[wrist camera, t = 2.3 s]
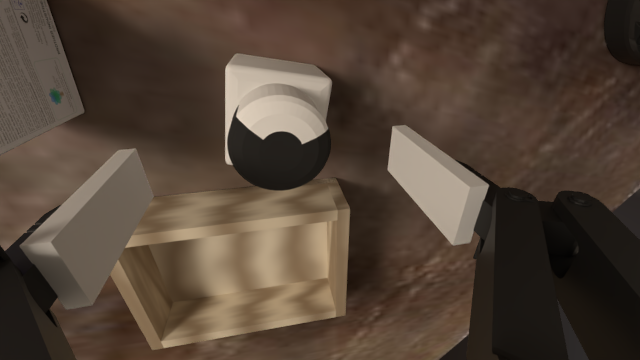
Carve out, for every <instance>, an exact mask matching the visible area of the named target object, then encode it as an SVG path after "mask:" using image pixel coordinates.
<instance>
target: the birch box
mask: <svg viewBox="0 0 640 360" xmlns="http://www.w3.org/2000/svg"><path fill="white" fill-rule="evenodd" d="M349 221H350V207H349V205H348V203H347V201H346V199H345V197H344V195H343V192H342V190H341V188H340V186H339V184H338V182H337V180H336V178H327V179H318V180H311V181H309V182H308V183H306V184H304V185H302V186H300V187H297V188H295V189H290V190H284V191H274V190H267V189H263V188H260V187H258V186H252V187H243V188H233V189H224V190H214V191H205V192H196V193H186V194H177V195H167V196H158V197H153V199H152V201H151V203H150V204H149V206H148V208H147V210H146V211H145V213H144V215H143V217H142V218H141V220H140V222H139V224H138V226H137V227H136V229H135V231H134V233H133V234H132V236H131V238H130V240H129V241H128V243H127V245H126V247H125V248H124V250H123V252H122V254H121V256H120V257H119V259H118V261H117V263H116V264H115V266H114V268H113V270H112V271H111V273H110V275H111V277H112V279H113V280H114V282H115V284H116V286H117V287H118V289H119V291H120V293H121V295H122V296H123V298H124V300H125V302H126V304H127V305H128V307H129V309H130V311H131V313H132V314H133V316H134V318H135V320H136V321H137V323H138V325H139V327H140V329H141V330H142V332H143V334H144V336H145V338H146V339H147V341H148V343H149V345H150V346H151V348H152V350H156V349H161V348H167V347H172V346H178V345H183V344H189V343H194V342H200V341H205V340H211V339H216V338H222V337H227V336H233V335H239V334H244V333H250V332H255V331H261V330H266V329H272V328H277V327H283V326H288V325H294V324H299V323H305V322H311V321H316V320H322V319H327V318H333V317H338V316H344V315H345V311H346V289H347V266H348V243H349Z"/></svg>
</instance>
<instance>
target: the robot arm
mask: <svg viewBox="0 0 640 360" xmlns="http://www.w3.org/2000/svg"><path fill="white" fill-rule="evenodd" d="M604 31H605V39H606V43H607V46H608V48H609V50H610V52H611V53H612V55H613V56H614V57H615V58H616V59H618V60H619V61H621V62H624V63H627V64H633V65H640V0H608V4H607V8H606V14H605V24H604ZM388 171H389V172H390V173H391V175H392V176H393V177H394V178H395V179H396V180H397V181H398V183H399V184H400V185H401V186H402V187H403V188H404V190H405V191H406V192H407V193H408V194H409V195H410V196H411V198H412V199H413V200H414V201H415V202H416V203H417V205H418V206H419V207H420V208H421V209H422V210H423V211H424V213H425V214H426V215H427V216H428V217H429V218H430V220H431V221H432V222H433V223H434V224H435V225H436V226H437V228H438V229H439V230H440V231H441V232H442V233H443V235H444V236H445V237H446V238H447V239H448V240H449V241H450V243H451V244H452V245H459V244H465V243H470V241H471V238H472V235H473V232H474V231H475V232H476V233H477V234H478V235H479V236H480V240H479V243H478V246H477V249H476V251H475V254H474V257H473V258H474V259H476V269H475V279H474V289H473V298H472V308H471V318H470V328H469V337H468V347H467V357H466V360H568V354H567V349H566V343H565V339H564V333H563V328H562V323H561V318H560V312H559V308H558V302H557V299H558V301H559V303H560V305H561V307H562V309H563V310H564V313H565V314H566V316H567V318H568V320H569V322H570V324H571V326H572V328H573V330H574V332H575V334H576V335H577V337H578V339H579V341H580V343H581V345H582V347H583V349H584V351H585V353H586V355H587V357H588V359H589V360H640V240H639V239H638V238H637V237H636V236H635V235H634V234H633V233H632V232H631V231H630V230H629V229H628V228H627V227H626V226H625V225H624V224H623V223H622V222H621V221H620V220H619V219H618V218H617V217H616V216H615V215H614V214H613V213H612V212H611V211H610V210H609V209H608V208H607V207H606V206H605V205H604V204H603V203H601V202H600V201H599V200H597V199H595V198H593V197H591V196H590V195H588V194H585V193H584V194H583V193H582V192H574V191H561V192H559V193H558V194H557V196H556V198H555V200H554V202H545V201H538V200H537V199H536V197H534V196H533V195H532V194H530V193H528V192H526V191H523V190H520V189H516V188H509V187H508V188H500V187H499V186H497V185H496V184H494V183H493V182H491V181H490V180H488V179H487V178H486V177H484V176H483V175H482V176H481V174H480V173H478V172H477V171H475V170H474V169H473V168H471V167H470V166H468V165H467V164H464V163H462V162H459V161H457V160H454V159H452V158H451V157H449V156H448V155H447V154H445V153H444V152H443V151H441V150H440V149H438V148H437V147H436V146H434V145H433V144H431V143H430V142H429V141H427V140H426V139H424V138H423V137H422V136H420V135H419V134H417V133H416V132H415V131H413V130H412V129H410V128H409V127H408V126H406V125H400V126H393V127H392V136H391V144H390V153H389V162H388ZM153 197H154V195H153V193H152V190H151V187H150V185H149V182H148V179H147V177H146V174H145V171H144V169H143V166H142V163H141V161H140V158H139V155H138V153H137V150H136V149H125V150H118V151H117V152H116V153H115V154H114V155H113V156H112V157H111V158H110V159H109V160H108V161H107V162H106V163H105V164H104V165H103V166H102V167H100V168H99V169H98V170H97V171H96V172H95V173H94V174H93V175H92V176H91V177H90V178H89V179H88V180H87V181H86V182H85V183H84V184H83V185H82V186H81V187H80V188H79V189H78V190H77V191H76V192H75V193H74V194H73V195H72V196H71V197H70V198H68V199H67V200H66V201H65V202H64V203H63V204H62V205H59V206H58V207H56V208H54V209H53V210H51V211H49V212H48V213H46V214H44V215H43V216H42V217H41V218H40V219H39V220H38V221H37V222H36V223H35V225H33V226H32V227H31V228H29V229H28V230H27V233H24V234H23V235H22V236H21V237H20V238H19V239H18V240H17V241H16V242H14V243H13V244H12V245H11V246H10V247H9V248H8V249H7V250H6V251H4V250H3V248H2V247H1V246H0V360H76V358H75V356H74V354H73V352H72V350H71V348H70V345H69V343H68V341H67V339H66V337H65V335H64V333H63V331H62V329H61V327H60V325H59V323H58V321H57V318H56V316H55V315H54V313H53V312H52V311H51V310H50V307H51V306H52V304H53V303H54V301H55V300H56V299H57V298H58V299H59V300H60V302H61V303H62V305H63V306H64V307H65V309H72V308H78V307H84V306H90V305H93V303H94V301H95V300H96V298H97V296H98V294H99V293H100V291H101V289H102V287H103V286H104V284H105V282H106V280H107V278H108V277H109V275H110V273H111V271H112V270H113V268H114V266H115V264H116V263H117V261H118V259H119V257H120V256H121V254H122V252H123V250H124V248H125V247H126V245H127V243H128V241H129V240H130V238H131V236H132V234H133V233H134V231H135V229H136V227H137V226H138V224H139V222H140V220H141V218H142V217H143V215H144V213H145V211H146V210H147V208H148V206H149V204H150V203H151V201H152V199H153Z"/></svg>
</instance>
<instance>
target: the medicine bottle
mask: <svg viewBox="0 0 640 360" xmlns="http://www.w3.org/2000/svg"><path fill="white" fill-rule="evenodd" d="M331 88H332V80H331V79H330V78H329V77H328V76H327V75H325V74H324V73H323V72H322V71H321V70H320V69H319V68H317V67H316V66H315V65H312V64H305V63H298V62H292V61H285V60H279V59H272V58H265V57H259V56H252V55H245V54H239V53H238V54H235V55H234V56H233V58H232V59H231V60H230V62H229V63H228V65H227V66H226V69H225V160H226V163H227V164H229V165H233V166H234V168H235V169H236V170H237V172H238V173H239V174H240V175H241V176H242V177H243V178H244V179H245V180H247V181H248V182H250V183H251V184H253V185H255V186H258V187H260V188H263V189H267V190H274V191H284V190H290V189H295V188H297V187H300V186H302V185H304V184H306V183H308V182H309V181H311V180H312V179H313V178H315V177H316V176H317V175H318V174H319V173H320V171H321V170H322V169H323V167H324V166H325V164H326V162H327V160H328V157H329V153H330V148H331V138H330V132H329V128H328V126H327V124H326V117H327V111H328V105H329V100H330V94H331Z"/></svg>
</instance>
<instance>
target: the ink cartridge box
mask: <svg viewBox="0 0 640 360" xmlns="http://www.w3.org/2000/svg"><path fill="white" fill-rule="evenodd" d="M83 113H84V107H83V105H82V102H81V99H80V96H79V93H78V90H77V87H76V84H75V81H74V79H73V76H72V73H71V70H70V67H69V64H68V61H67V58H66V55H65V52H64V49H63V46H62V43H61V40H60V38H59V35H58V32H57V29H56V26H55V23H54V20H53V17H52V14H51V11H50V9H49V6H48V3H47V0H0V155H1V154H3V153H5V152H7V151H9V150H11V149H13V148H15V147H17V146H19V145H21V144H23V143H25V142H27V141H29V140H31V139H33V138H35V137H37V136H39V135H41V134H43V133H45V132H47V131H49V130H51V129H53V128H54V127H56V126H59V125H61V124H63V123H65V122H67V121H68V120H70V119H72V118H75V117H77V116H79V115H81V114H83Z"/></svg>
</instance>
